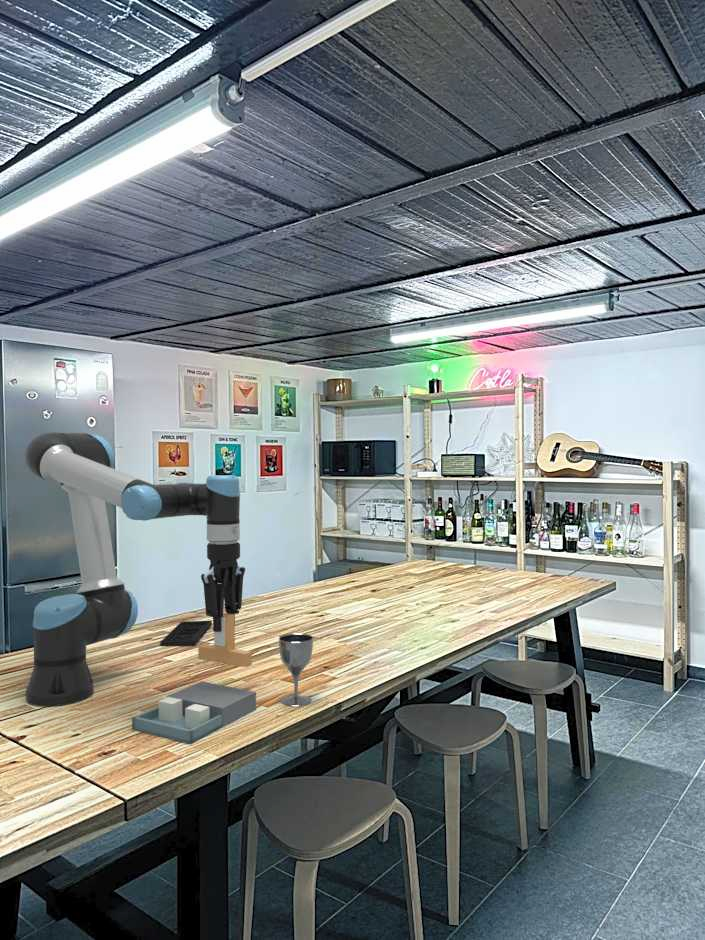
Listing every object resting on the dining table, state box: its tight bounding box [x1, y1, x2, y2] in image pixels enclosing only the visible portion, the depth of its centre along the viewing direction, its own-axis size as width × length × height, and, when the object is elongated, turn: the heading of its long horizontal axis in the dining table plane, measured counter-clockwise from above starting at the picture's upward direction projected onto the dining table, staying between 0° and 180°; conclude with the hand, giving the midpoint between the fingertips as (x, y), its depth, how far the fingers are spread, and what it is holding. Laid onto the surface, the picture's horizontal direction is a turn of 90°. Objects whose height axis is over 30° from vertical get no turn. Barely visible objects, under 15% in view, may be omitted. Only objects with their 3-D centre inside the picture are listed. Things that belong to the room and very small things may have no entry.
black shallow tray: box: [156, 620, 243, 647], centre depth 225 cm, size 26×3×30 cm
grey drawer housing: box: [165, 680, 257, 728], centre depth 157 cm, size 16×12×4 cm
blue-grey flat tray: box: [131, 705, 223, 745], centre depth 147 cm, size 16×10×2 cm, turn 61°
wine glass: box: [278, 632, 314, 707], centre depth 164 cm, size 8×8×15 cm
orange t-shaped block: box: [197, 612, 253, 668], centre depth 161 cm, size 14×2×11 cm, turn 61°
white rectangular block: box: [185, 704, 210, 729], centre depth 147 cm, size 4×4×3 cm
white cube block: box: [158, 697, 182, 723], centre depth 151 cm, size 4×4×3 cm
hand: (224, 643), depth 161 cm, fingers closed on orange t-shaped block, 2 cm apart
